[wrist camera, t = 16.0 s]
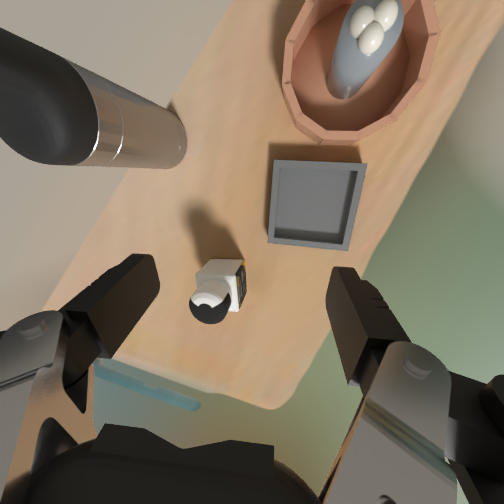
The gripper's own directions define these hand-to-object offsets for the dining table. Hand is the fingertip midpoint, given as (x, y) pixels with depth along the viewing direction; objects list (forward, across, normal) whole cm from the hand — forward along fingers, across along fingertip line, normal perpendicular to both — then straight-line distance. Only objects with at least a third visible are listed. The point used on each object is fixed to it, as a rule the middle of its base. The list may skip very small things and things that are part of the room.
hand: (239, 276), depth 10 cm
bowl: (+30, -10, -12) cm, 34 cm away
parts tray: (+27, -8, +5) cm, 29 cm away
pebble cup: (+29, -10, -12) cm, 33 cm away
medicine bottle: (+27, +6, +19) cm, 34 cm away
